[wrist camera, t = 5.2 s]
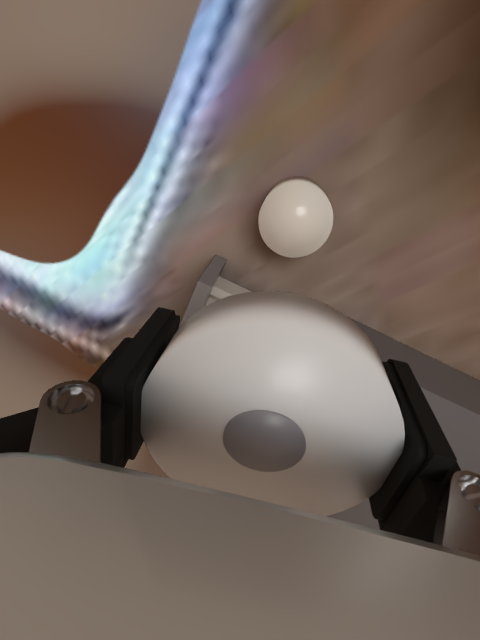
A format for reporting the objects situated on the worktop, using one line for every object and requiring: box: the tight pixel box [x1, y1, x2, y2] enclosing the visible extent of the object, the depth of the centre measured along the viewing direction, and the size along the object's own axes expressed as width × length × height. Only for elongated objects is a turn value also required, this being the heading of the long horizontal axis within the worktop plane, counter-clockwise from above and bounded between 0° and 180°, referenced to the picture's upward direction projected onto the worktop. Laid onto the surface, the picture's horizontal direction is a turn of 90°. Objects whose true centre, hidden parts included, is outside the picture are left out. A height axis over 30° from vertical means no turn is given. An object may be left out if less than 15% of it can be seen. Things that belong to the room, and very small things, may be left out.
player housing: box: [327, 317, 480, 530], centre depth 32 cm, size 15×18×6 cm
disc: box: [140, 291, 405, 516], centre depth 10 cm, size 7×7×2 cm
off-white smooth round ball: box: [258, 176, 333, 258], centre depth 24 cm, size 5×5×4 cm
